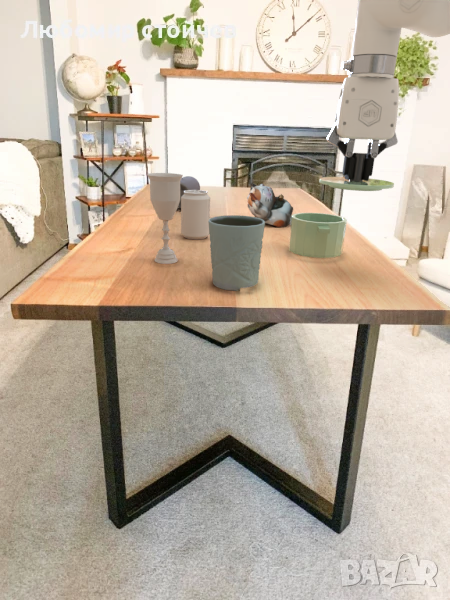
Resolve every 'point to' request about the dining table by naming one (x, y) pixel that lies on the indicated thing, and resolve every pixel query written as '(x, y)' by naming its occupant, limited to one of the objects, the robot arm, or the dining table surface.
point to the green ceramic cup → (235, 250)
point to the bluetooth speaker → (188, 186)
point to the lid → (357, 178)
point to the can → (195, 214)
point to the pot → (317, 235)
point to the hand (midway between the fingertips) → (356, 178)
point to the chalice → (165, 208)
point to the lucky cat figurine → (269, 206)
